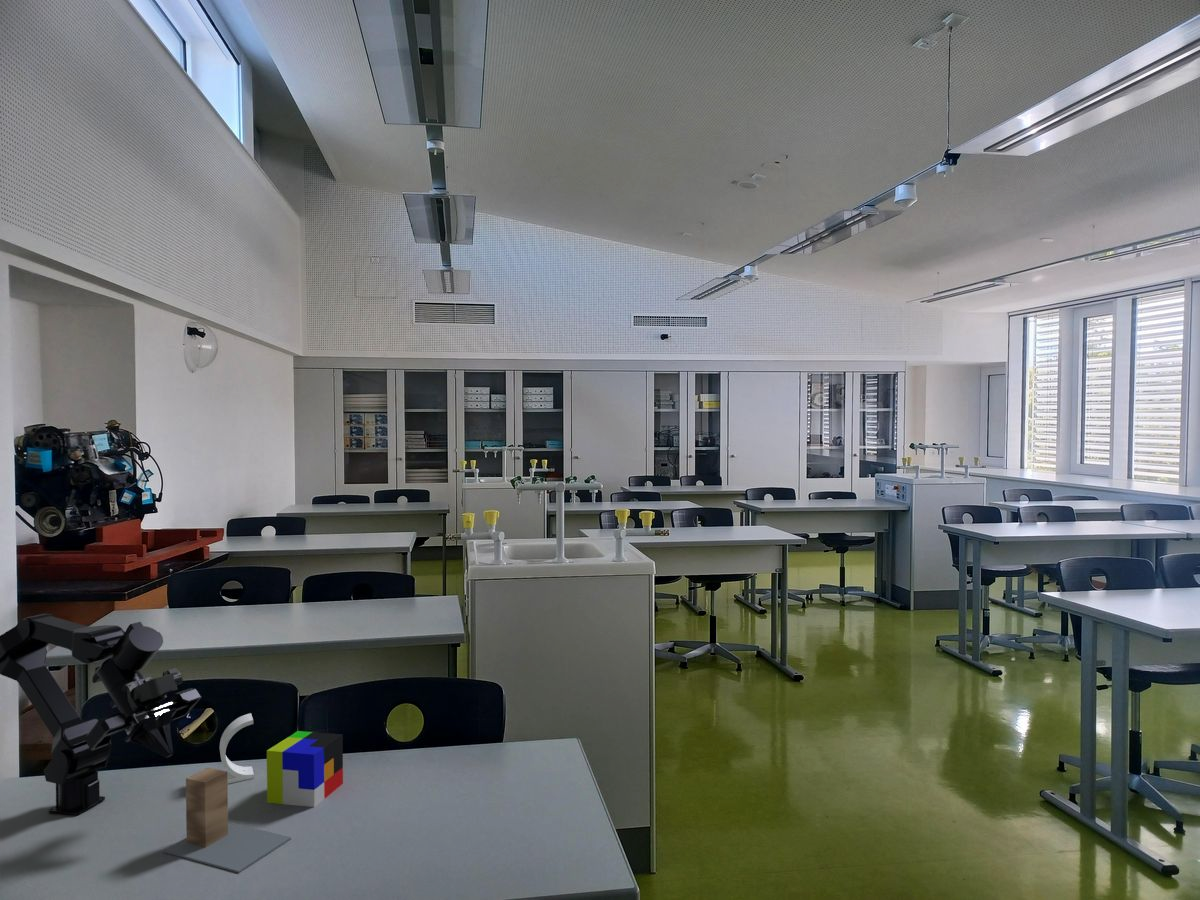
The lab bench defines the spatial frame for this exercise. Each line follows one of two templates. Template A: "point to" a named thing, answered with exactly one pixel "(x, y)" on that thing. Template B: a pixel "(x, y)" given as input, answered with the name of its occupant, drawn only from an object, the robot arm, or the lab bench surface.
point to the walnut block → (206, 807)
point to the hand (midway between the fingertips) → (170, 755)
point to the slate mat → (231, 848)
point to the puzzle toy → (304, 768)
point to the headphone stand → (233, 771)
